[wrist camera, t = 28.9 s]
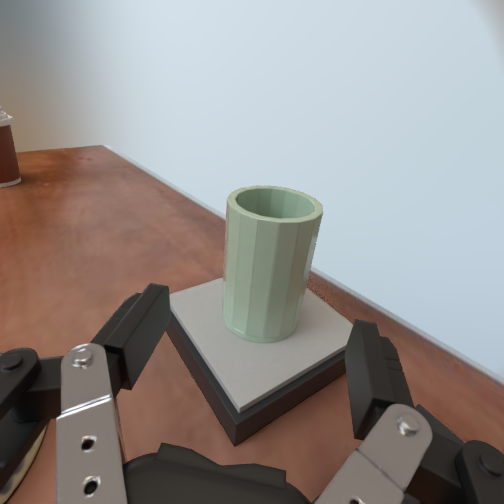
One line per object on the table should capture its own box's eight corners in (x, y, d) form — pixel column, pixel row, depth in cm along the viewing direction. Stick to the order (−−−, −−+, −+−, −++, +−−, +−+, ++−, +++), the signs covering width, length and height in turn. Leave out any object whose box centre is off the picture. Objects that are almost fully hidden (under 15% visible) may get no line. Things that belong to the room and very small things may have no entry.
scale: (270, 280, 35) (274, 257, 33) (363, 360, 26) (374, 335, 25) (159, 319, 28) (156, 294, 27) (234, 446, 19) (237, 419, 18)
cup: (267, 283, 29) (281, 181, 24) (313, 324, 25) (343, 211, 20) (208, 304, 26) (210, 192, 21) (250, 356, 22) (266, 230, 17)
